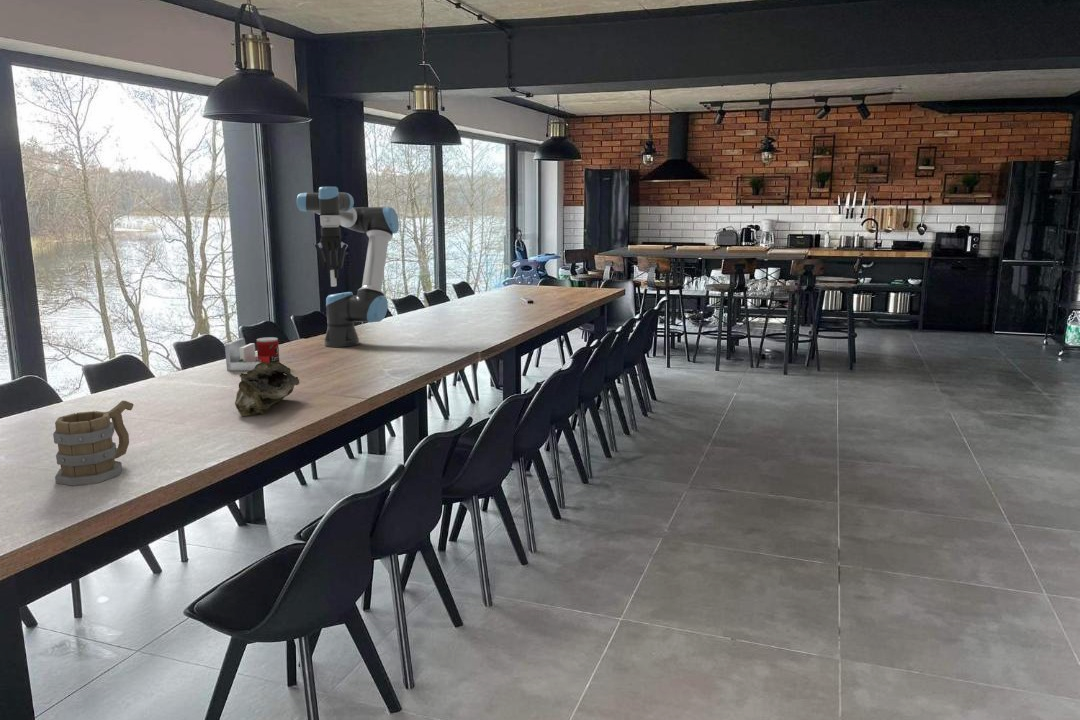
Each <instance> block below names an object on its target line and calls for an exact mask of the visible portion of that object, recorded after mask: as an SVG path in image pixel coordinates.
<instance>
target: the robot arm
mask: <svg viewBox="0 0 1080 720" xmlns="http://www.w3.org/2000/svg"><path fill="white" fill-rule="evenodd" d="M354 204H355V200H354V197H353V196H352V195H351V194H350V193H348V192H345V191H342V192H341V191H339V188H338V187H337V186H319V188H318V192H301V193H299V194H297V197H296V206H297V208H298V210H299V211H301V212H306V213H307V212H308V213H309V212H311V213H314V214H317V215H320V216H319V218H320V219H319V221H320V235H321V236H320V241H319V243H317V244H315V245H314V247H315V249H316V250H317V253H318V255H319V259H320V262H321V266H322V268H323V269H325V270H327V277H328V279H330V287H337V286H338V285H337V282H338V281H337V279H338V278H339V277H340V276H339V275H340V274H339V270H341V269H342V268H344V263H345V262H344V261H345V258H346V257H345V256H346V252H347V249H348V247H349V245H348V244H347V243H345V242H343V239H342V235H341V233H342V232H341V231H342V230H341V227H343V228H346V229H348V230H351V231H355V232H358V233H363V234H366V236H367V237H368V243H367V244H368V245H367V250H366V258H365V263H364V265H365V266H364V270H363V276H362V277H363V278H362V284H361V287H360V288H358V289H357V293H356V295H354V293H353V292H352V291H347V292H346V291H345V292H341V293H340V292H339V293H333V294H328V295H327V297H326V298H325V308H326V310H325V311H326V320H327V329H326V334H325V337H324V343H323V344H324V346H326V347H331V348H344V347H345V348H347V347H353V346H358V345H360V339H359V336H358V333H357V330H356V327H355V323H359V322H360V323H370V324H371V323H380V322H381V321H383V320H384V318H385V317H386V315H387V312H388V308H389V306H388V299H387V297H386V296H385V293H384V292H383V290H382V288H383V280H384V273H385V267H386V260H387V254H388V253H387V252H388V246H389V241H391V240H393V234H397V233H398V232H399V229H400V222H399V216H398V214H397V211H396V210H395V209H394V208H393V207H391V206H387V207H386V206H375V207H374V206H367V207H366V206H360V207H354ZM340 226H341V227H340ZM339 248H341V249H340V252H339ZM323 249H325V253H326V257H325V253H324V251H323ZM338 253H340V254H339V255H338ZM332 262H333V263H332Z"/></svg>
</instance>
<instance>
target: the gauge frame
mask: <svg viewBox="0 0 1080 720" xmlns="http://www.w3.org/2000/svg"><path fill="white" fill-rule="evenodd" d="M245 345H246V340H245V337H242V338H241V337H240V338H238V339H235V340H232V341H230V342H227V343H225V344H224V351H225V361H226V363H225V364H226V371H251V370H253V369H254V368H255V366H256V365H257V364H260V363H262V362H258V355H256V362H246V361H241V362H238V360H240V351H239V348H241V347H243V346H245Z"/></svg>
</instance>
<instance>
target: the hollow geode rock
mask: <svg viewBox="0 0 1080 720" xmlns="http://www.w3.org/2000/svg"><path fill="white" fill-rule="evenodd" d="M239 378H240V381H239V383H238V390H237V392H236V396H235V400H234V406H235V407H236V409H237V411H238V414H239V415H240V416H241V417H247V416H255V415H265V414H266V413H267V411H268V410H269V409H270V408H271V406H272V405H274V404H276V403H279V402H282V400H284V399H285V398H286V397H288V396H290V394H292V393H293V391H294V389H295V386H299V385H300V382H301V381H300V379H299V377H298V376H295V375H293V374H292V373H291V369H290V367H288V366H286V365H285V364H283V363H281V362H280V363H279V362H270V363H266V362H262V363H260V364H257V365H256V366H255V368H254V369H253V370H247V373H244V372H243V373H240V374H239Z"/></svg>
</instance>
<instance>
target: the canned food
mask: <svg viewBox="0 0 1080 720" xmlns="http://www.w3.org/2000/svg"><path fill="white" fill-rule="evenodd" d="M279 348H280V347H279V338H278V337H274V336H272V337H271V336H269V337H268V336H267V337H260V338H259V337H258V338H256V351H257V356H258V362H266V363H270V362H279V363H281V362H280V349H279Z"/></svg>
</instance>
